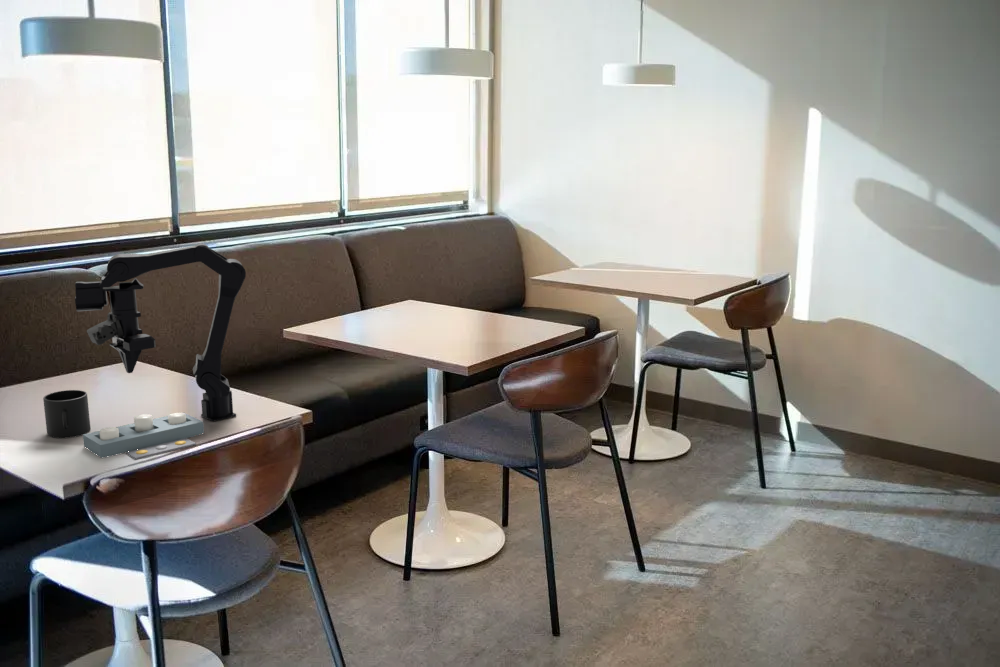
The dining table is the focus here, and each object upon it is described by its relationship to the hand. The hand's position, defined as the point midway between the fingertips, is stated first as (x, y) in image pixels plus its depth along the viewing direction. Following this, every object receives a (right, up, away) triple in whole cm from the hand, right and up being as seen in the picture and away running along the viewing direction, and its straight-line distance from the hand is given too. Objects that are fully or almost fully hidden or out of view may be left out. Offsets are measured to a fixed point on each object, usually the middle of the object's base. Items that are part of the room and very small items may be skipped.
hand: (129, 372), depth 232 cm
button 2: (+13, -13, -3) cm, 19 cm away
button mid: (+7, -13, -9) cm, 17 cm away
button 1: (+1, -16, -14) cm, 21 cm away
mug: (-13, -14, -4) cm, 20 cm away
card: (+13, -17, -14) cm, 25 cm away
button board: (+7, -15, -8) cm, 19 cm away
